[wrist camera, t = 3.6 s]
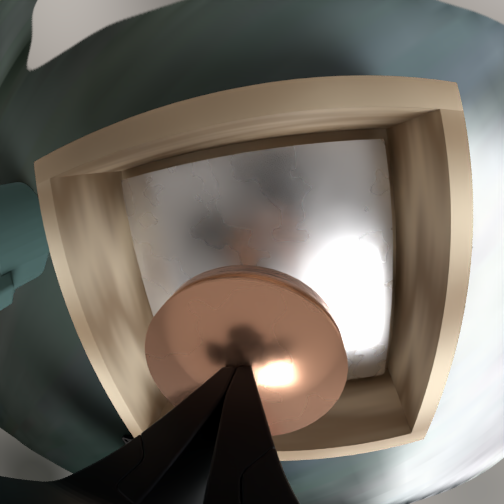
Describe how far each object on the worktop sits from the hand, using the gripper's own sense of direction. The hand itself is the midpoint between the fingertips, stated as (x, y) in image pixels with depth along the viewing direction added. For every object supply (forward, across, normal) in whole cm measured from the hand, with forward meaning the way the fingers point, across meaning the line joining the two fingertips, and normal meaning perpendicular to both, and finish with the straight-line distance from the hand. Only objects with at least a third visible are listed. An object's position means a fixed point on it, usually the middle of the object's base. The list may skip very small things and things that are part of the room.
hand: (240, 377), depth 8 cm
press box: (+8, 0, 0) cm, 8 cm away
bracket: (+9, +20, -5) cm, 22 cm away
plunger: (+8, 0, 0) cm, 8 cm away
